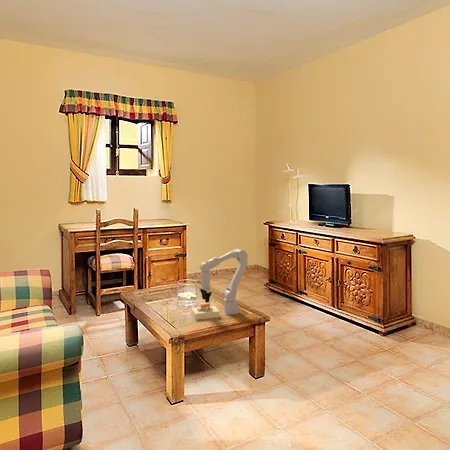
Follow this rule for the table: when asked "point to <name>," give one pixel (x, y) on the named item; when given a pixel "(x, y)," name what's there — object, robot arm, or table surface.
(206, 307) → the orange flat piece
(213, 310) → the cream frame with crossbar
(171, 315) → the table surface
